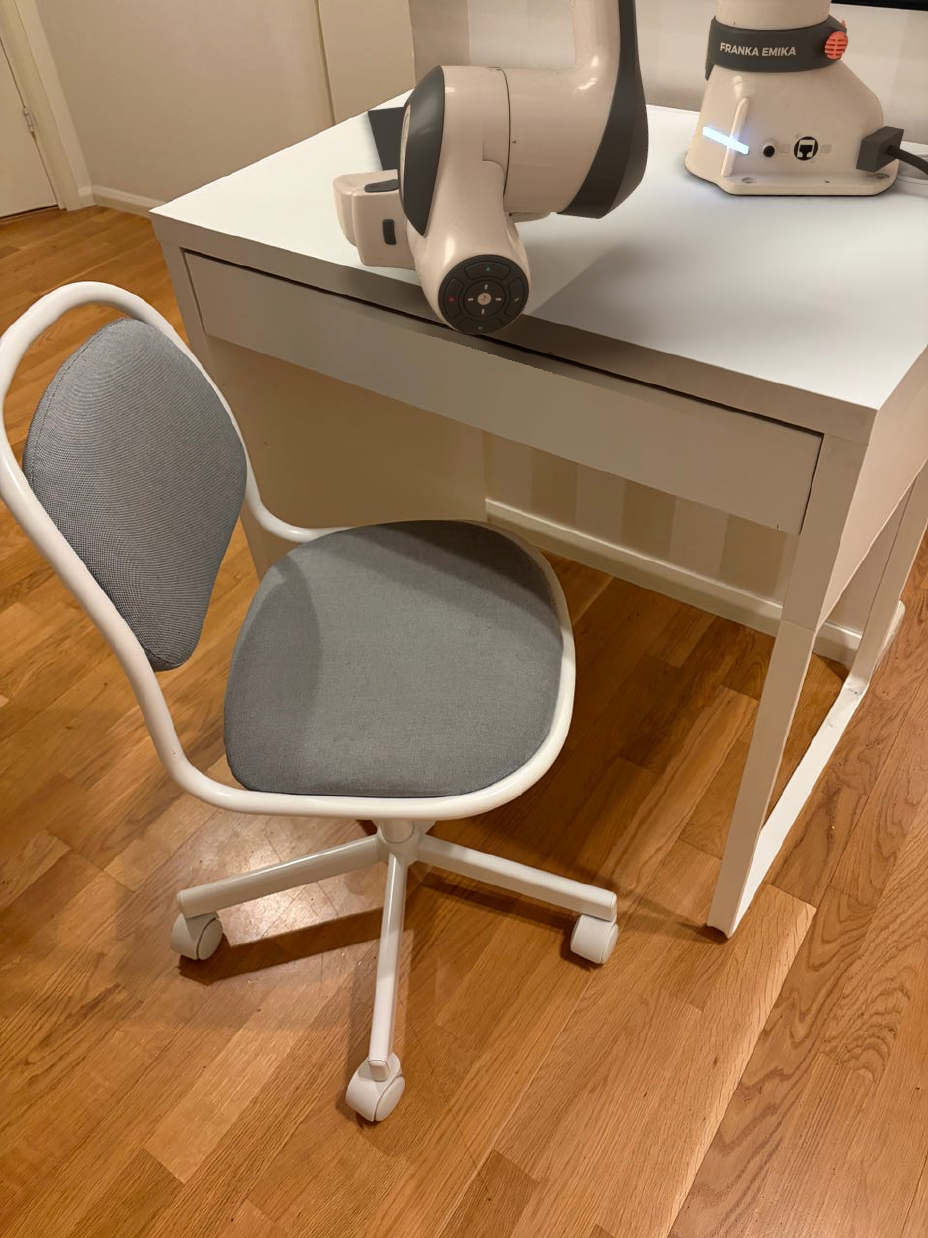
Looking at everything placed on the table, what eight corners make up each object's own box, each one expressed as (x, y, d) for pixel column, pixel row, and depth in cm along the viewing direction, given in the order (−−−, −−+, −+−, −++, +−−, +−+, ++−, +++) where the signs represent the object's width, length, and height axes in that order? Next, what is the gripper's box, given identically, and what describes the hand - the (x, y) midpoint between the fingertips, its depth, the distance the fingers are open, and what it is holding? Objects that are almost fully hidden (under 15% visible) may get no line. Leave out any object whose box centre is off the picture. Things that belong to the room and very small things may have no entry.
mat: (500, 193, 103) (500, 189, 103) (392, 206, 103) (392, 202, 102) (455, 103, 128) (455, 100, 127) (367, 113, 127) (367, 110, 127)
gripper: (571, 168, 81) (538, 119, 90) (333, 195, 79) (326, 142, 89) (570, 241, 85) (538, 187, 95) (344, 268, 84) (336, 210, 93)
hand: (434, 165), depth 92 cm, fingers closed
